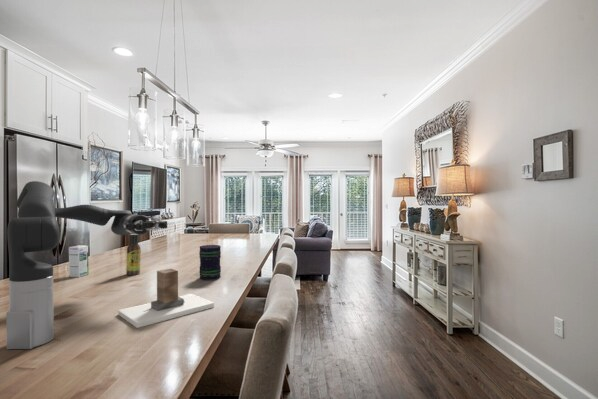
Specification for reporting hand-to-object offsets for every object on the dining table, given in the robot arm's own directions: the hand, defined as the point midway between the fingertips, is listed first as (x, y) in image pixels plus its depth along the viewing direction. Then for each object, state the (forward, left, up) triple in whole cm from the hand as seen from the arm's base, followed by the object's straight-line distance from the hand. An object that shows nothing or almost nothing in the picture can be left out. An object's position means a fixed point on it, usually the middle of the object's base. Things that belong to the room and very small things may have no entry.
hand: (154, 226), depth 122 cm
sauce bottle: (+46, +29, -28) cm, 61 cm away
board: (-8, -8, -28) cm, 30 cm away
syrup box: (+43, +54, -28) cm, 75 cm away
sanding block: (-8, -8, -26) cm, 29 cm away
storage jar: (+38, -11, -28) cm, 49 cm away
